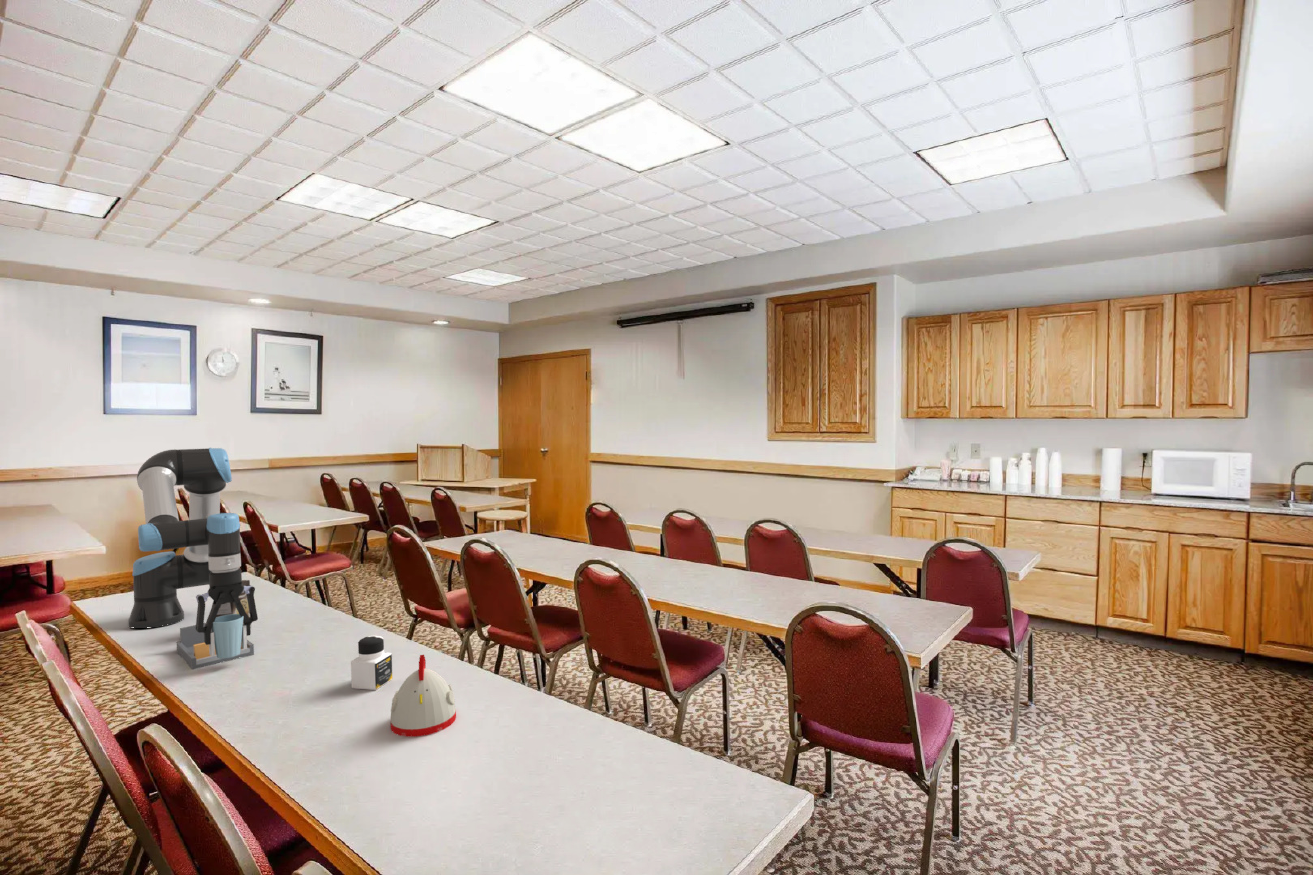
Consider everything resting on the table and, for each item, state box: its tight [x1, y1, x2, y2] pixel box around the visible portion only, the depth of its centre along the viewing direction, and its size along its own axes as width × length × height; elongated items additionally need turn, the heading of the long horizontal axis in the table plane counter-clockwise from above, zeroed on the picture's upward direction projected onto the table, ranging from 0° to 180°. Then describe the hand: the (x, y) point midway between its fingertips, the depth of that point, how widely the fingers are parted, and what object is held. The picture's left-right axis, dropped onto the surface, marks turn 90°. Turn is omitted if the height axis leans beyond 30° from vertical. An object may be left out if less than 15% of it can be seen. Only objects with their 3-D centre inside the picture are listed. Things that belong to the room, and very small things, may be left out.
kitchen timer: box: [390, 654, 457, 738], centre depth 147 cm, size 14×14×15 cm
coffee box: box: [216, 579, 252, 629], centre depth 212 cm, size 9×6×16 cm
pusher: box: [193, 642, 243, 659], centre depth 191 cm, size 6×12×4 cm, turn 136°
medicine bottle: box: [350, 635, 393, 691], centre depth 168 cm, size 7×7×12 cm
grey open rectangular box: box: [176, 622, 255, 670], centre depth 193 cm, size 20×15×7 cm
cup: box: [212, 614, 244, 659], centre depth 182 cm, size 8×8×10 cm
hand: (228, 651), depth 182 cm, fingers closed on cup, 7 cm apart
